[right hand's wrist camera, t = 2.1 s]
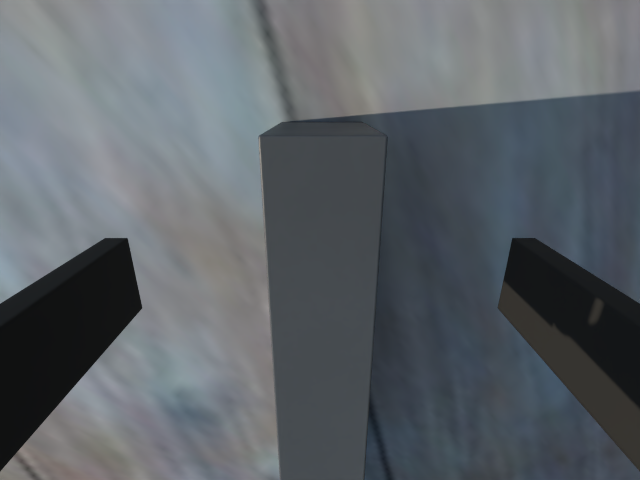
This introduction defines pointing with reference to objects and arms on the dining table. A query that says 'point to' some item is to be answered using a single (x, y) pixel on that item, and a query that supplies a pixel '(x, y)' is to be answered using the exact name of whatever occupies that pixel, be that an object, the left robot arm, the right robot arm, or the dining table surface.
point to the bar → (322, 289)
